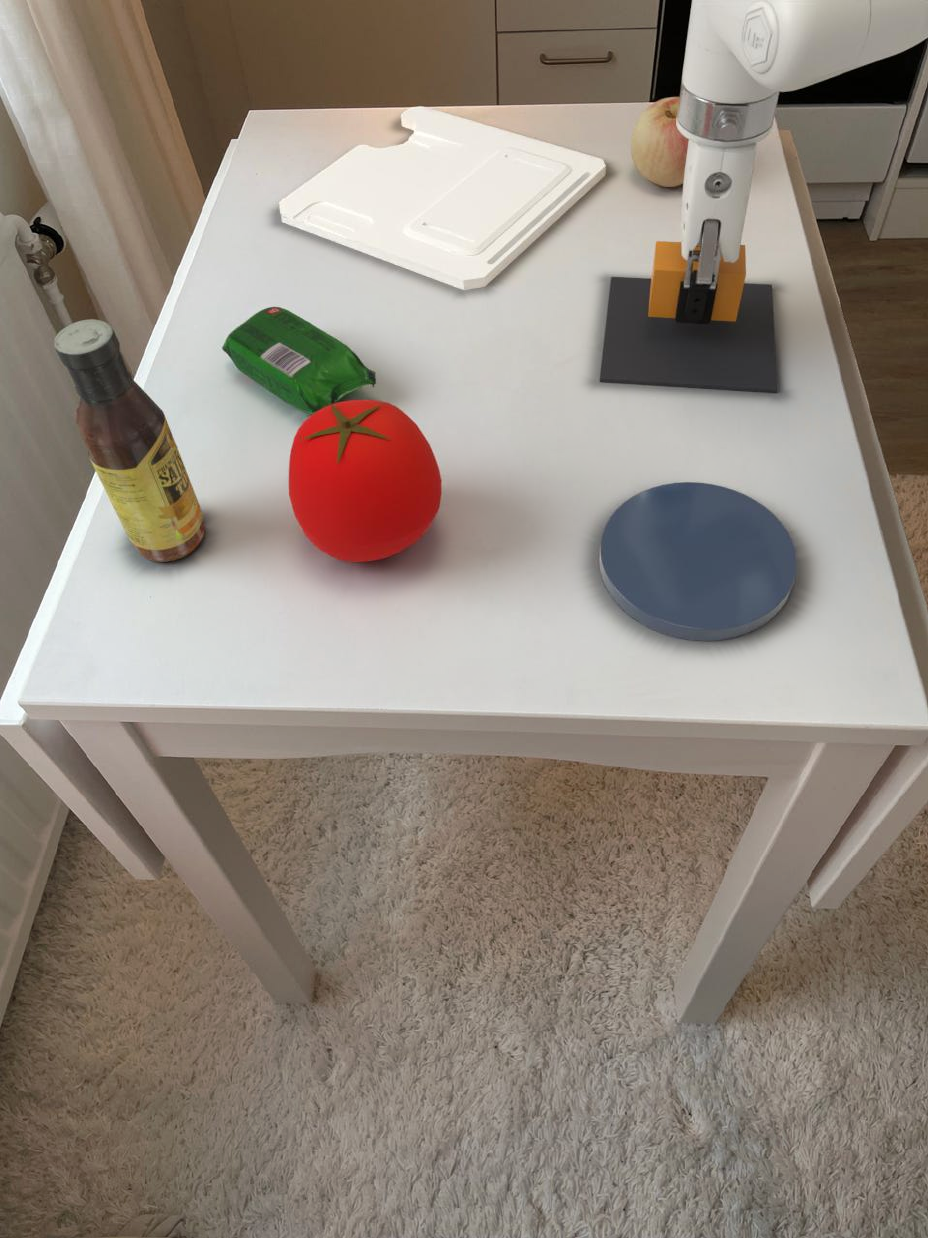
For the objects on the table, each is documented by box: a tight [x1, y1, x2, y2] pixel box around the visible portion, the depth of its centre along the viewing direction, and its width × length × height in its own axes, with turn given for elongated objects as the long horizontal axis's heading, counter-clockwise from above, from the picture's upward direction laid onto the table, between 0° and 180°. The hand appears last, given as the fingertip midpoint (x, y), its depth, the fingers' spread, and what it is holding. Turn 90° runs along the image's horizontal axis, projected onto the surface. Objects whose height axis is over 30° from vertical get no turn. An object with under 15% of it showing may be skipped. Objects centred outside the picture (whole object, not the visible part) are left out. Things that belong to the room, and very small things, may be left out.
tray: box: [278, 105, 607, 291], centre depth 109 cm, size 28×28×2 cm
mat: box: [599, 276, 779, 394], centre depth 92 cm, size 16×16×1 cm
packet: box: [648, 240, 747, 322], centre depth 88 cm, size 8×4×5 cm, turn 81°
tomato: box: [288, 399, 443, 563], centre depth 74 cm, size 12×12×13 cm
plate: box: [598, 481, 798, 642], centre depth 75 cm, size 15×15×2 cm
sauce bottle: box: [53, 318, 206, 563], centre depth 72 cm, size 6×6×20 cm
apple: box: [630, 96, 689, 188], centre depth 106 cm, size 9×9×8 cm
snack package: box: [221, 306, 377, 415], centre depth 88 cm, size 7×16×5 cm, turn 46°
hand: (693, 302), depth 90 cm, fingers closed on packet, 4 cm apart
